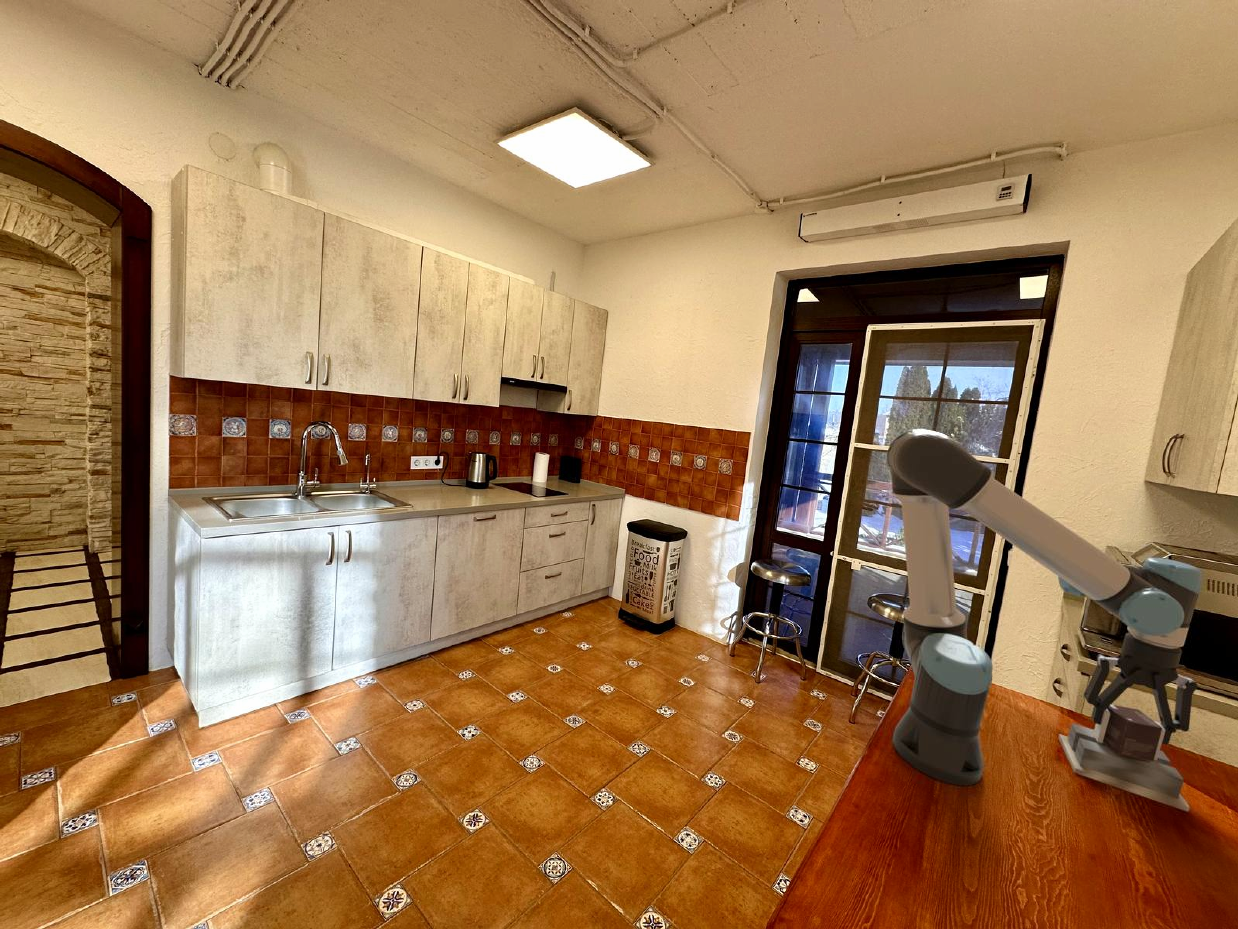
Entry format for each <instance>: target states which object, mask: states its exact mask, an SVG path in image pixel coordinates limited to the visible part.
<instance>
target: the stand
mask: <svg viewBox="0 0 1238 929" xmlns="http://www.w3.org/2000/svg"><path fill="white" fill-rule="evenodd" d="M1093 733H1094V729H1092V728H1089V727H1087V726H1086V727H1085V726H1083V725H1079V724H1077V723H1073V722H1071V724H1070V728H1069V731H1068V735H1063V734H1061V733H1059V734H1058V740H1059V743H1060V745H1061V747H1062V749H1063V751H1064V753H1065V755H1066V757H1067V760H1068V763H1069V764H1070V766H1071V768H1072V771H1073V773H1075V774H1078V775H1080V776H1083V777H1087V778H1088V779H1093V780H1094V781H1099V783H1100V782H1101V783H1103V784H1106V785H1109V786H1113V787H1115V788H1118V789H1121V790H1124V791H1126V792H1129V793H1132V794H1136V795H1138V796H1141V797H1144V798H1147V799H1150V800H1153V801H1156V802H1158V803H1160V804H1161V803H1162V804H1165V805H1166V806H1170V807H1173V808H1176V809H1179V810H1181V811H1185V812H1188V813H1189V812H1190V806H1189V804H1188V802H1187V801H1186V800H1185V798H1184V796H1182V794H1181V791H1182V787H1183V784H1184V781H1185V780H1184V778H1183V777H1182V775H1181V774H1180V772H1179V771H1178V770H1177V769H1176V767H1173V766H1170V765H1171V761H1170V758H1169V757H1168V756H1167V754H1165V752H1164V751H1163V750H1161V749H1160V751H1159V755H1158V758H1157V761H1156V760H1154V761H1147V760H1142V759H1137V758H1132V757H1127V756H1122V755H1118V754H1117V753H1116V752H1115V751H1114V750H1113V749H1112V748H1111V747H1110V746H1108V745H1107V744H1106V743H1105V742H1104V741H1103V743H1100V742H1097V740H1096V738H1095V737H1094V735H1093Z"/></svg>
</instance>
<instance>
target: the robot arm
mask: <svg viewBox="0 0 1238 929" xmlns="http://www.w3.org/2000/svg"><path fill="white" fill-rule="evenodd" d="M886 462H887V464H888V467H889V469H890V476H891V487H892V494H893V496H895V497H896V498H897V499H898V500H900V501H901V504H900V505H901V515H902V526H903V536H904V537H903V538H904V550H905V560H906V563H905V564H906V571H907V585H908V596H909V606H907V607H906V608H905V609H904V610H903V611H902V615H903V627H902V628H903V629H902V634H901V635H902V636H901V639H902V645H903V648H904V650H905V653H906V654H907V656H908V659H909V662H910V665H911V667H912V671H913V674H914V681H913V682H914V683H913V687H912V692H911V697H910V703H909V706H908V708H907V710H906V712H905V713H904V715H903V716H902V717H901V718H900V720H899V721H898V723H897V725H896V726H895V728H894V729H893V730H894V731H893V735H892V736H893V737H892V744H893V746H894V749H895V750H896V752H897V753H898V754H899V755H900V757H901V758H902V759H904V761H906V762H907V763H908V764H910V765H911V766H912V767H913V768H915V769H916V770H918V771H920V772H921V773H923V774H925V775H927V776H929V777H931V778H933V779H935V780H938V781H941V782H943V783H944V782H945V783H947V784H951V785H956V786H971V785H974V784H977V783H979V782H980V780H981V779H982V775H983V771H984V760H983V755H982V754H983V753H982V749H981V748H982V747H981V742H980V736H979V733H980V728H981V725H982V720H983V716H984V713H985V708H986V704H987V699H988V696H989V691H990V686H992V685H991V684H992V682H993V662H992V660H991V658H990V656H989V654H987V652H985V650H984V649H982V647H980V646H978V645H974V643H973V642H972V641H971V640H968V633H967V622H966V621H967V620H966V615H965V614H964V613H963V612H961V611H960V610H959V609H958V608H957V604H956V602H957V601H956V600H957V599H956V589H955V578H954V564H953V550H952V539H951V538H952V537H951V535H952V534H951V525H950V523H951V522H950V513H949V512H950V510H949V508H950V509H951V510H953V511H957V510H958V511H964V512H966V513H967V514H968V515H970V517H972V518H974V519H975V520H977V521H978V522H980V523H982V525H984V526H985V527H987V528H988V529H990V530H991V531H992V532H994V533H996V534H997V535H998V536H1000V537H1002V538H1003V539H1004V540H1006V541H1007V542H1008V543H1010V544H1011V545H1013V546H1014V547H1015V548H1017V549H1019V551H1022V553H1024V554H1026V556H1029V557H1030V558H1032V559H1033V560H1034V561H1036V562H1038V564H1040V565H1042V566H1043V567H1044V568H1045V569H1047V570H1049V571H1050V572H1051V573H1053V574H1054V575H1055V576H1056V577H1057V576H1058V584H1059V587H1060V589H1061V590H1062V591H1063V592H1064V593H1066V594H1069V595H1074V596H1077V597H1078V598H1082V597H1083V598H1089V599H1091V600H1092V601H1093V602H1094V603H1096V604H1097V605H1099V606H1100V607H1101V608H1103V609H1104V610H1105V611H1107V612H1109V613H1110V614H1111V615H1113V616H1115V617H1116V618H1117V619H1118V620H1120V621H1121V622H1122V623H1123V624H1124V625H1126V626H1127V627H1126V628H1127V631H1128V632H1126V633H1125V635H1124V639H1123V642H1122V646H1121V651H1120V653H1119V654H1118V655H1117V656H1116V657H1109V656H1108V657H1107V656H1105V655H1104V654H1097V655H1096V664H1097V665H1096V667H1095V669H1094V671H1093V674H1092V676H1091V677H1090V680H1089V682H1088V684H1087V686H1086V688H1085V690H1084V693H1083V698H1084V699H1085V700H1086V702H1087V703H1088V704H1090V705H1092V706H1093V708H1092V712H1091V716H1090V718H1091V720H1092V722H1093V723H1094V724H1095V726H1094V729H1093V730H1094V733H1093V735H1094V737H1095V738H1096V740H1097V742H1100V743H1103V739H1104V735H1105V732H1106V728H1107V724H1108V721H1109V717H1110V713H1109V711H1108V710H1107V708H1108V707H1109V706H1110V705H1113V703H1114V702H1115V701H1116V700H1117V699H1118V698H1119V697H1120V696H1121V695H1122V694H1123V693H1124V692H1125V691H1127V689H1128V688H1132V686H1134V685H1136V686H1144V687H1146V688H1148V689H1151V690H1152V692H1153V697H1154V700H1155V706H1156V709H1157V713H1158V717H1159V720H1160V722H1159V721H1155V720H1153V721H1154V722H1155V723H1157V724H1158V725H1159V726H1161V727H1162V731H1161V735H1160V739H1159V742H1158V746H1157V750H1156V754H1155V757H1154V760H1156V761H1157V758H1158V755H1159V751H1160V750H1161V747H1162V745H1166V746H1167V745H1169V743H1170V741H1171V737H1172V734H1175V733H1176V732H1177V730H1178V731H1182V732H1188V731H1190V721H1191V714H1192V713H1191V712H1192V701H1193V694H1194V693H1195V692H1196V690H1197V689H1198V687H1199V684H1198V683H1197V682H1195V680H1193V678H1191V677H1190V676H1188V675H1187V676H1186V675H1185V676H1184V675H1181V674H1179V673H1178V671H1177V669H1178V666H1179V663H1180V659H1181V655H1182V653H1183V650H1182V649H1181V647H1184V645H1185V642H1186V638H1187V635H1188V631H1189V628H1190V623H1191V622H1192V618H1193V614H1194V611H1195V607H1196V604H1197V601H1198V598H1199V595H1201V587H1202V583H1203V573H1202V571H1201V569H1199V568H1198V567H1196V566H1193V565H1191V564H1188V563H1185V562H1183V561H1182V562H1181V561H1177V560H1173V559H1169V558H1162V557H1148V558H1146V559H1145V561H1144V563H1143V564H1142V566H1137V565H1135V566H1133V565H1128V564H1122V563H1120V562H1118V561H1117V560H1115V559H1114V558H1113V557H1111V556H1110V555H1108V554H1106V553H1105V552H1104V551H1102V550H1101V549H1099V548H1098V547H1096V546H1095V545H1093V544H1092V543H1090V542H1089V541H1087V540H1086V539H1084V538H1083V537H1081V536H1080V535H1078V534H1077V533H1076V532H1074V531H1072V530H1071V529H1069V528H1068V527H1066V526H1065V525H1064V524H1062V523H1061V522H1059V521H1058V520H1055V519H1054V518H1053V517H1052V516H1050V515H1049V514H1047V513H1046V512H1045V511H1043V510H1041V509H1040V508H1039V507H1037V506H1035V505H1033V504H1032V503H1031V502H1029V500H1026V499H1025V498H1023V497H1022V496H1020V495H1019V494H1018V493H1016V492H1015V491H1013V490H1012V489H1010V488H1008V487H1007V486H1005V485H1004V484H1002V483H1001V482H1000V481H998V480H996V479H995V478H994V477H995V476H994V470H992V469H990V467H988V466H987V465H985V464H984V463H982V462H981V461H980V460H978V459H977V458H976V457H975V456H973V455H972V454H971V453H969V452H968V451H967V450H966V449H965V448H964V447H963V446H961V444H959V443H958V442H957V441H956V440H954V439H953V438H952V437H951V436H948V435H946V434H944V433H941V432H938V431H935V430H932V429H929V428H915V429H909V430H907V431H904V432H902V433H900V434H899V435H897V436H896V437H895V438H894V439H893V440H892V442H891V443H890V444H889V447H888V449H887V452H886ZM1115 666H1118V667H1119V669H1120V671H1119V672H1118V673H1117V674H1116V677H1115V678H1114V679H1113V681H1111V682H1110V684H1109V685H1107V686H1106V688H1105V689H1104V690H1103V691H1102V689H1103V687H1104V685H1105V683H1106V682H1107V681H1106V680H1107V679H1108V676H1109V673H1110V670H1113V669H1114V668H1115ZM1174 681H1175V684H1176V686H1177V687H1176V693H1175V694H1176V695H1175V697H1176V698H1175V704H1174V705H1175V708H1174V716H1173V715H1172V713H1171V708H1170V704H1169V701H1168V695H1167V694H1168V693H1167V689H1166V685H1168V684H1170V683H1172V682H1174ZM1172 716H1173V717H1174V718H1173V717H1172Z"/></svg>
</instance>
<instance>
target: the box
mask: <svg viewBox="0 0 1238 929" xmlns="http://www.w3.org/2000/svg"><path fill="white" fill-rule="evenodd" d="M1107 710H1108V711H1109V713H1110V717H1109V721H1108V724H1107V728H1106V732H1105V735H1104V739H1103V741H1104V742H1105V743H1106V744H1107V745H1108V746H1110V747H1111V748H1112V749H1113V750H1114V751H1115V752H1116V753H1117V754H1118V755H1122V756H1127V757H1132V758H1137V759H1142V760H1147V761H1154V757H1155V754H1156V750H1157V746H1158V742H1159V739H1160V735H1161V731H1162V727H1161V726H1159V725H1158V724H1157V723H1155V722H1154V721H1155V720H1153V719H1151V717H1150V716H1147V715H1146V714H1145V713H1144V712H1142V711H1141V710H1140V709H1138V708H1131V707H1127V706H1121V705H1115V704H1111V705H1110V706H1109V707H1108V708H1107Z"/></svg>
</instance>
